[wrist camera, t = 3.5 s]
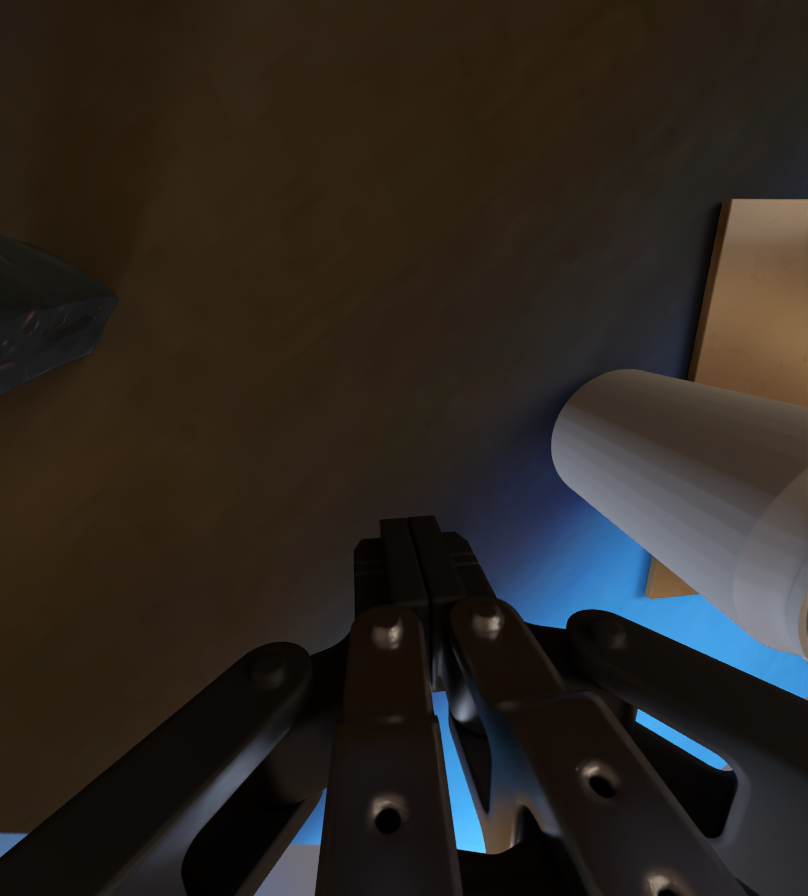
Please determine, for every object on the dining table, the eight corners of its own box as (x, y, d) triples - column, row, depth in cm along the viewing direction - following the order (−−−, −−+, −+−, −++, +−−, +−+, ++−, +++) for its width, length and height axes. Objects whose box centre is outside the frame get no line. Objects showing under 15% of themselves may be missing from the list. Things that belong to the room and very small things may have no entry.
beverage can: (659, 347, 19) (1092, 402, 8) (672, 467, 22) (1027, 642, 10) (531, 393, 19) (787, 514, 8) (557, 508, 22) (787, 731, 10)
